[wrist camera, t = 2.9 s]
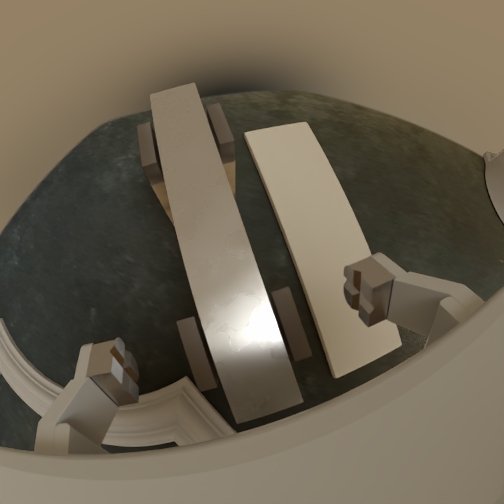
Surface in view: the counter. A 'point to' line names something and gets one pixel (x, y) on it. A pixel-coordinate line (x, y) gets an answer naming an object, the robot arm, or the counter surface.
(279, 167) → the plank
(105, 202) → the counter surface
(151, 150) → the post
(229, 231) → the rail
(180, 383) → the molding
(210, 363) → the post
